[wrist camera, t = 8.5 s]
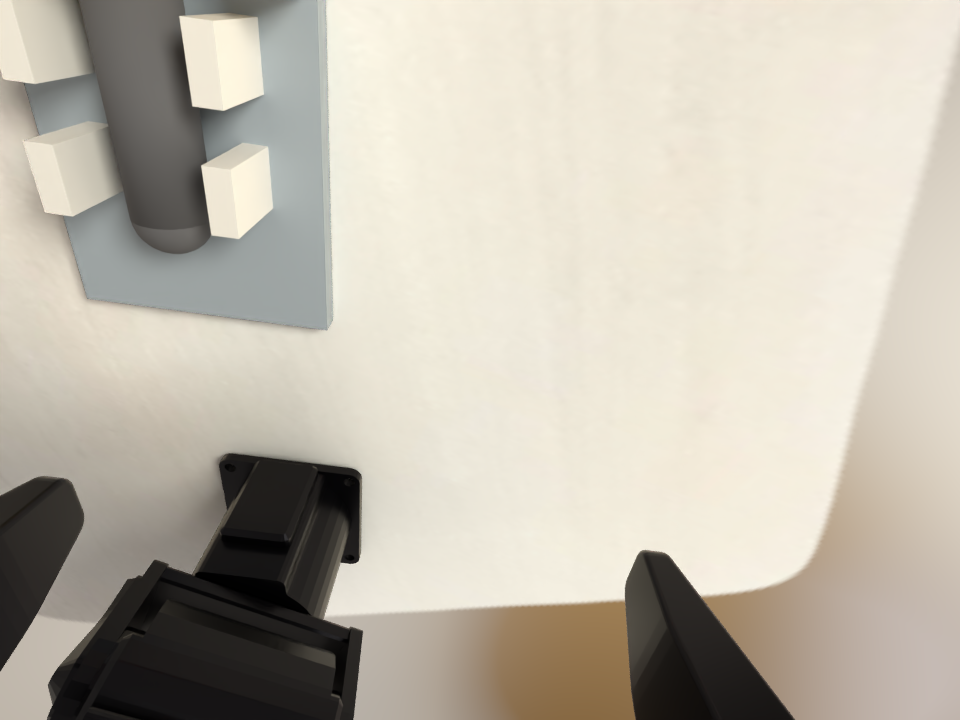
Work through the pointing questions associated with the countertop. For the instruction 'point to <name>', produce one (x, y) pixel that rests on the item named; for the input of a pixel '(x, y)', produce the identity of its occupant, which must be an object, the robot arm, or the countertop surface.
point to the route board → (227, 174)
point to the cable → (151, 118)
